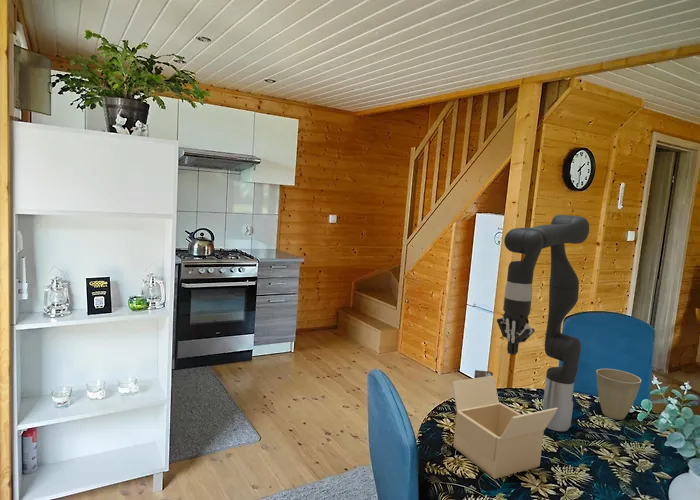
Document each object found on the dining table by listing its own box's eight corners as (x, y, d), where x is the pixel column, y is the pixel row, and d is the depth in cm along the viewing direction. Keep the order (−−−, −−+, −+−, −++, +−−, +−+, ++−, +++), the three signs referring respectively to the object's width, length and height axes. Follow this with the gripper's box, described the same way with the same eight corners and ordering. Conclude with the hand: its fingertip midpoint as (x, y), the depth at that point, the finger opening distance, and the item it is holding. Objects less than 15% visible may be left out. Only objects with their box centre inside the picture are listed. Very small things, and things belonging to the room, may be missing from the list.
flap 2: (556, 407, 134) (557, 408, 133) (543, 428, 138) (544, 429, 137) (512, 416, 126) (513, 418, 125) (499, 438, 130) (500, 440, 129)
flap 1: (499, 402, 154) (497, 402, 154) (493, 375, 156) (492, 375, 156) (457, 410, 146) (456, 410, 146) (452, 381, 148) (451, 381, 148)
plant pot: (635, 414, 181) (641, 374, 179) (635, 428, 168) (641, 386, 166) (593, 403, 188) (598, 365, 187) (589, 416, 176) (594, 375, 174)
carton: (497, 436, 155) (500, 402, 154) (540, 465, 139) (545, 427, 138) (452, 447, 147) (455, 410, 145) (493, 479, 131) (497, 439, 129)
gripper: (545, 301, 132) (538, 360, 135) (510, 291, 144) (504, 345, 146) (526, 303, 129) (520, 363, 131) (492, 292, 141) (486, 348, 143)
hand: (512, 353), depth 139 cm, fingers closed
